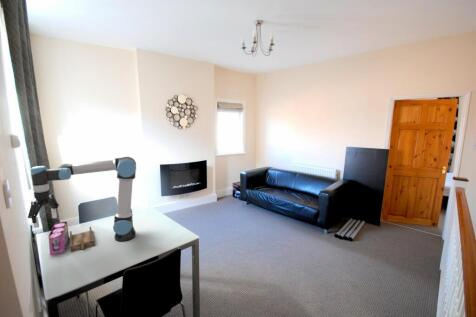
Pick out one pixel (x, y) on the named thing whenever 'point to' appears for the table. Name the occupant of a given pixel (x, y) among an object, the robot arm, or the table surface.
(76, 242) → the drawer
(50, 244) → the gum box
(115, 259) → the table surface
